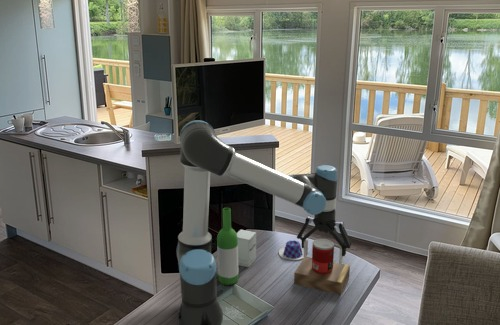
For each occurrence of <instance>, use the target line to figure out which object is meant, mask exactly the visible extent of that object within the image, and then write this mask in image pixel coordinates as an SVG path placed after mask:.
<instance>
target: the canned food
mask: <svg viewBox="0 0 500 325" xmlns="http://www.w3.org/2000/svg"><path fill="white" fill-rule="evenodd" d="M311 247H312V248H311V249H312V252H311V258H312V269H313V271H315V272H316V273H319V274H328V273H330V272H332V270H333V262H334V258H335V256H334V254H335V243H334V242H333V240H331V239H327V238H316V239H314V240H313V241H312V246H311Z"/></svg>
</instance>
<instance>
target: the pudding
mask: <svg viewBox="0 0 500 325" xmlns="http://www.w3.org/2000/svg"><path fill="white" fill-rule="evenodd" d="M278 255H279V256H280V257H281V258H283V259H286V260H290V261H299V260H303V259H304V248H302V247H301V244H300V242H299V241H296V240H289V241H287V242H286V243H285V245H284V247H281V248H280V249H279V250H278Z"/></svg>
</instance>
